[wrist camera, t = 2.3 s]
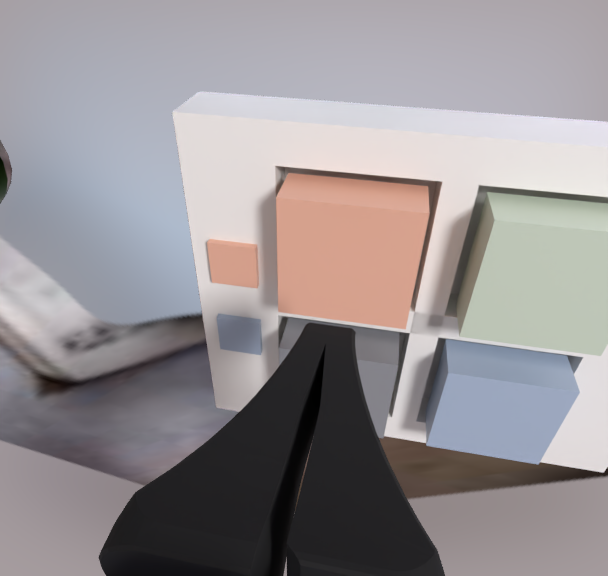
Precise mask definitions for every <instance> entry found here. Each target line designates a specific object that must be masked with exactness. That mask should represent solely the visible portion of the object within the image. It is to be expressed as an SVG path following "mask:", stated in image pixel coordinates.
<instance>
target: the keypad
mask: <svg viewBox="0 0 608 576" xmlns="http://www.w3.org/2000/svg"><path fill="white" fill-rule="evenodd" d="M172 114H173V120H174V127H175V134H176V141H177V147H178V154H179V160H180V167H181V174H182V180H183V188H184V194H185V200H186V207H187V214H188V221H189V228H190V235H191V241H192V247H193V255H194V261H195V267H196V275H197V282H198V288H199V295H200V302H201V308H202V315H203V322H204V329H205V335H206V342H207V349H208V355H209V362H210V369H211V376H212V382H213V389H214V396H215V402H216V408H221V409H227V410H233V411H239V412H240V411H241V410H242V409H243V408H244V407H245V406H246V405H247V404H248V403H249V402H250V400H251V399H252V398H253V397H254V396H255V395H256V394H257V393H258V392H259V390H260V389H261V388H262V387H263V386H264V384H265V383H266V382H267V381H268V380H269V379H270V377H271V376H272V375H273V374H274V372H275V371H276V370H277V368H278V367H279V346H280V343H281V340H282V337H283V334H284V330H285V327H286V324H287V321H288V318H289V317H290V318H298V319H305V320H312V321H319V322H327V323H334V324H341V325H348V326H356V327H363V328H370V329H377V330H384V331H392V332H399V360H398V369H397V374H396V379H395V384H394V389H393V394H392V399H391V403H390V408H389V413H388V418H387V423H386V428H385V433H384V436H388V437H394V438H400V439H406V440H412V441H418V442H424V443H426V408H427V404H428V401H429V397H430V394H431V390H432V386H433V383H434V379H435V376H436V372H437V369H438V365H439V361H440V358H441V354H442V351H443V347H444V344H445V340H446V339H450V340H457V341H464V342H471V343H479V344H486V345H493V346H500V347H508V348H515V349H522V350H529V351H537V352H544V353H551V354H558V355H566V356H567V357H568V360H569V363H570V365H571V368H572V371H573V374H574V377H575V379H576V382H577V385H578V388H579V391H580V393H579V395H578V397H577V398H576V400H575V402H574V404H573V405H572V407H571V409H570V411H569V412H568V414H567V416H566V418H565V419H564V421H563V423H562V424H561V426H560V428H559V430H558V431H557V433H556V435H555V437H554V438H553V440H552V442H551V444H550V445H549V447H548V449H547V450H546V452H545V454H544V456H543V457H542V459H541V461H540V462H543V463H549V464H555V465H561V466H567V467H573V468H579V469H585V470H591V471H597V472H603V473H604V471H605V470H606V469H607V467H608V345H607V346H606V348H605V350H604V352H603V353H602V355H601V356H596V355H589V354H582V353H575V352H567V351H560V350H553V349H545V348H538V347H531V346H523V345H516V344H509V343H501V342H494V341H487V340H480V339H472V338H465V337H459V329H458V320H457V311H456V301H457V297H458V294H459V290H460V287H461V283H462V280H463V276H464V272H465V269H466V265H467V262H468V258H469V255H470V251H471V247H472V244H473V240H474V237H475V233H476V230H477V226H478V222H479V219H480V215H481V212H482V208H483V205H484V201H485V198H486V194H487V192H492V193H503V194H513V195H524V196H534V197H544V198H555V199H565V200H576V201H586V202H596V203H607V204H608V122H604V121H589V120H576V119H564V118H550V117H536V116H524V115H510V114H496V113H483V112H470V111H457V110H443V109H429V108H416V107H403V106H402V107H401V106H389V105H375V104H363V103H349V102H335V101H323V100H309V99H294V98H281V97H269V96H255V95H242V94H229V93H215V92H202V91H199V92H198V93H196V94H195V95H194V96H192V97H191V98H190V99H188V100H187V101H186V102H185V103H183V104H182V105H181V106H179V107H178V108H177V109H175V110H174V111H173V112H172ZM288 173H295V174H305V175H316V176H326V177H337V178H347V179H357V180H368V181H378V182H389V183H399V184H409V185H420V186H428V194H429V218H428V223H427V228H426V233H425V238H424V243H423V248H422V252H421V257H420V262H419V267H418V272H417V277H416V282H415V287H414V291H413V296H412V301H411V306H410V311H409V316H408V321H407V326H406V329H399V328H392V327H385V326H377V325H370V324H363V323H355V322H348V321H341V320H333V319H326V318H319V317H311V316H304V315H297V314H290V313H282V312H278V274H277V221H276V197H277V195H278V193H279V191H280V189H281V187H282V185H283V183H284V181H285V179H286V177H287V175H288Z"/></svg>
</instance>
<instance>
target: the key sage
mask: <svg viewBox="0 0 608 576" xmlns="http://www.w3.org/2000/svg"><path fill="white" fill-rule="evenodd" d="M456 311H457V320H458V329H459V337H465V338H472V339H480V340H487V341H494V342H501V343H509V344H516V345H523V346H531V347H538V348H545V349H553V350H560V351H567V352H575V353H582V354H589V355H596V356H601V355H602V353H603V352H604V350H605V348H606V346H607V345H608V204H607V203H596V202H586V201H576V200H565V199H555V198H544V197H534V196H524V195H513V194H503V193H492V192H487V194H486V198H485V201H484V205H483V208H482V212H481V215H480V219H479V222H478V226H477V230H476V233H475V237H474V240H473V244H472V247H471V251H470V255H469V258H468V262H467V265H466V269H465V272H464V276H463V280H462V283H461V287H460V290H459V294H458V297H457V301H456Z"/></svg>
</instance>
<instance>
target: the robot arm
mask: <svg viewBox="0 0 608 576" xmlns="http://www.w3.org/2000/svg"><path fill="white" fill-rule="evenodd" d="M355 334H356V332H355V331H354V330H353V329H352V328H346V327H339V326H332V325H325V324H317V323H310V322H309V323H308V324H306V325H305V327H304V329H303V331H302V333H301V334H300V336H299V338H298V340H297V341H296V343H295V344H294V346H293V347H292V349H291V350H290V352H289V353H288V355H287V356H286V358H285V359H284V360H283V362H282V363H281V364H280V366H279V367H278V368H277V370H276V371H275V372H274V374H273V375H272V376H271V377H270V379H269V380H268V381H267V382H266V383H265V384H264V386H263V387H262V388H261V389H260V390H259V392H258V393H257V394H256V395H255V396H254V397H253V398H252V399H251V400H250V402H249V403H248V404H247V405H246V406H245V407H244V408H243V409H242V410H241V411H240V412H239V413H238V414H237V415H236V416H235V417H234V418H233V419H232V420H231V421H230V422H228V423H227V424H226V425H225V426H224V427H223V428H222V429H221V430H220V431H219V432H217V433H216V434H215V435H214V436H213V437H212V438H211V439H209V440H208V441H207V442H206V443H205V444H203V445H202V446H201V447H199V448H198V449H197V450H195V451H194V452H193V453H192V454H190V455H189V456H188V457H186V458H185V459H184V460H182V461H181V462H180V463H179V464H177V465H176V466H174V467H173V468H172V469H170V470H169V471H167V472H166V473H164V474H163V475H161V476H160V477H158V478H156V479H155V480H153V481H152V482H150V483H149V484H147V485H146V486H144V487H143V488H141V489H140V490H138V491H137V492H135V494H134V495H133V497H132V498H131V499H130V501H129V502H128V503H127V505H126V506H125V508H124V510H123V511H122V513H121V514H120V516H119V517H118V519H117V520H116V522H115V524H114V526H113V528H112V530H111V532H110V534H109V536H108V538H107V540H106V542H105V544H104V546H103V548H102V550H101V553H100V555H99V560H100V563H101V567H102V569H103V571H104V573H105V574H106V576H283V574H284V568H285V562H286V557H287V576H445V574H444V570H443V567H442V564H441V561H440V558H439V554H438V551H437V549H436V548H435V546H434V545H433V543H432V541H431V540H430V538H429V536H428V535H427V533H426V531H425V530H424V528H423V527H422V525H421V523H420V522H419V520H418V518H417V516H416V515H415V513H414V511H413V509H412V507H411V506H410V504H409V502H408V500H407V498H406V497H405V495H404V493H403V490H402V488H401V486H400V484H399V482H398V480H397V478H396V476H395V474H394V472H393V470H392V468H391V466H390V464H389V462H388V459H387V457H386V455H385V452H384V450H383V448H382V445H381V443H380V440H379V438H378V435H377V433H376V430H375V427H374V424H373V421H372V418H371V415H370V412H369V409H368V406H367V402H366V399H365V395H364V392H363V387H362V383H361V379H360V375H359V369H358V364H357V357H356V348H355ZM313 436H314V437H313ZM312 440H313V441H312ZM311 443H312V446H311ZM310 447H311V450H310ZM309 450H310V454H309ZM308 454H309V458H308V463H307V467H306V471H305V475H304V479H303V483H302V487H301V491H300V495H299V499H298V503H297V507H296V502H297V497H298V491H299V487H300V483H301V479H302V475H303V471H304V468H305V464H306V461H307V457H308ZM295 507H296V511H295ZM294 513H295V514H294Z"/></svg>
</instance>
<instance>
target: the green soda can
mask: <svg viewBox="0 0 608 576" xmlns="http://www.w3.org/2000/svg"><path fill="white" fill-rule="evenodd" d="M11 175H12V168H11V164H10V160H9V156H8V154H7V152H6V150H5V148H4V146H3V144H2V143H1V141H0V203H1V202H2V200H3V198H4V197H5V195H6V193H7V191H8V188H9V186H10V184H11Z"/></svg>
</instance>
